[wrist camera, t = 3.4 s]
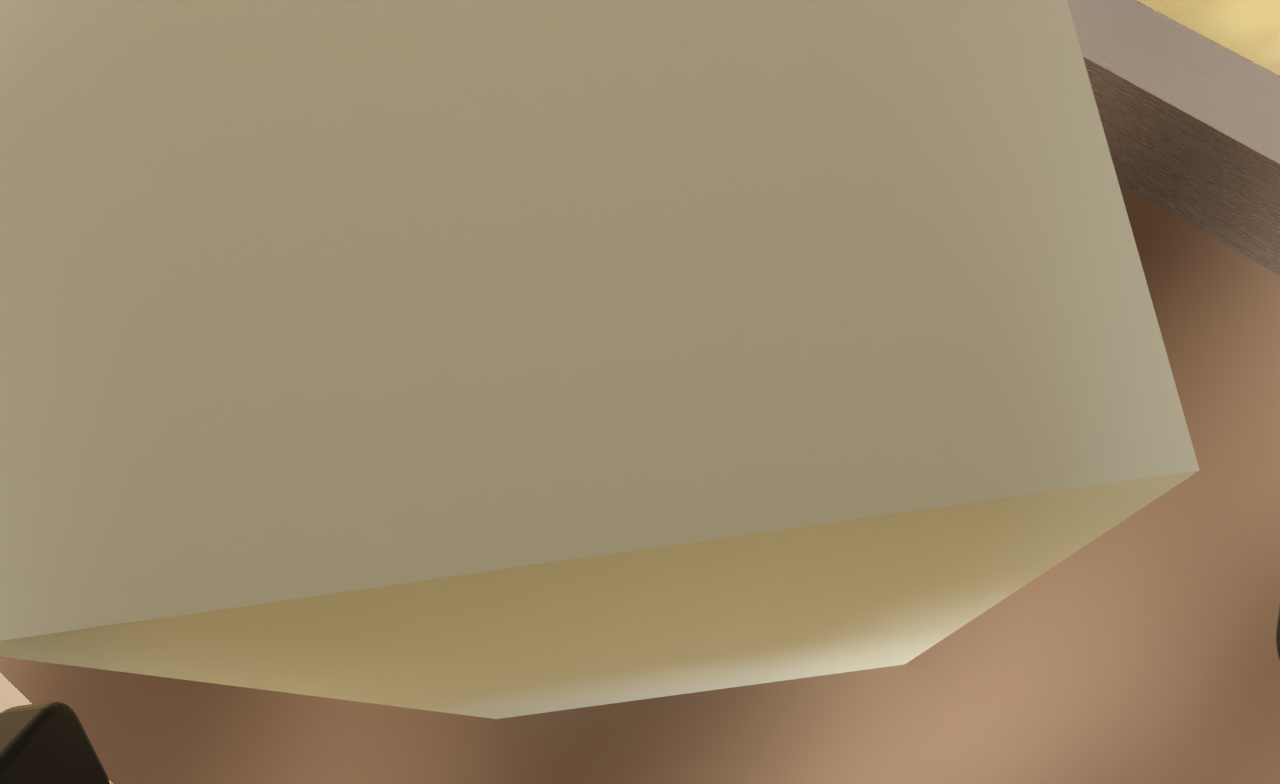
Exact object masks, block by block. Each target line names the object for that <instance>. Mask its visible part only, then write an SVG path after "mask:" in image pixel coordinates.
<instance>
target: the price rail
mask: <svg viewBox="0 0 1280 784" xmlns="http://www.w3.org/2000/svg"><path fill="white" fill-rule="evenodd" d="M1067 2H1068V5H1069V9H1070V13H1071V16H1072V20H1073V23H1074V27H1075V30H1076V34H1077V37H1078V41H1079V44H1080V48H1081V52H1082V55H1083V59H1084V62H1085V66H1086V69H1087V73H1088V76H1089V80H1090V83H1091V87H1092V90H1093V94H1094V98H1095V101H1096V105H1097V108H1098V112H1099V115H1100V119H1101V122H1102V126H1103V129H1104V133H1105V137H1106V140H1107V144H1108V147H1109V151H1110V154H1111V158H1112V161H1113V165H1114V168H1115V172H1116V176H1117V179H1118V183H1119V184H1121V185H1123V186H1124V187H1126V188H1128V189H1130V190H1131V191H1133V192H1135V193H1137V194H1138V195H1140V196H1142V197H1144V198H1145V199H1147V200H1149V201H1151V202H1152V203H1154V204H1156V205H1158V206H1159V207H1161V208H1163V209H1164V210H1166V211H1168V212H1170V213H1171V214H1173V215H1175V216H1177V217H1178V218H1180V219H1182V220H1184V221H1185V222H1187V223H1189V224H1191V225H1192V226H1194V227H1196V228H1198V229H1199V230H1201V231H1203V232H1204V233H1206V234H1208V235H1210V236H1211V237H1213V238H1215V239H1217V240H1218V241H1220V242H1222V243H1224V244H1225V245H1227V246H1229V247H1231V248H1232V249H1234V250H1236V251H1238V252H1239V253H1241V254H1243V255H1244V256H1246V257H1248V258H1250V259H1251V260H1253V261H1255V262H1257V263H1258V264H1260V265H1262V266H1264V267H1265V268H1267V269H1269V270H1271V271H1272V272H1274V273H1276V274H1277V275H1279V276H1280V76H1278V75H1276V74H1274V73H1272V72H1271V71H1269V70H1267V69H1265V68H1263V67H1261V66H1259V65H1257V64H1255V63H1253V62H1252V61H1250V60H1248V59H1246V58H1244V57H1242V56H1240V55H1238V54H1236V53H1234V52H1233V51H1231V50H1229V49H1227V48H1225V47H1223V46H1221V45H1219V44H1217V43H1215V42H1214V41H1212V40H1210V39H1208V38H1206V37H1204V36H1202V35H1200V34H1198V33H1196V32H1195V31H1193V30H1191V29H1189V28H1187V27H1185V26H1183V25H1181V24H1179V23H1177V22H1176V21H1174V20H1172V19H1170V18H1168V17H1166V16H1164V15H1162V14H1160V13H1158V12H1156V11H1155V10H1153V9H1151V8H1149V7H1147V6H1145V5H1143V4H1141V3H1139V2H1137V1H1136V0H1067Z"/></svg>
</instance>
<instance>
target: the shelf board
mask: <svg viewBox="0 0 1280 784" xmlns="http://www.w3.org/2000/svg"><path fill="white" fill-rule="evenodd" d="M1119 186H1120V190H1121V193H1122V197H1123V200H1124V204H1125V207H1126V211H1127V214H1128V218H1129V222H1130V225H1131V229H1132V232H1133V236H1134V239H1135V243H1136V246H1137V250H1138V253H1139V257H1140V261H1141V264H1142V268H1143V271H1144V275H1145V278H1146V282H1147V285H1148V289H1149V292H1150V296H1151V300H1152V303H1153V307H1154V310H1155V314H1156V317H1157V321H1158V324H1159V328H1160V331H1161V335H1162V339H1163V342H1164V346H1165V349H1166V353H1167V356H1168V360H1169V363H1170V367H1171V370H1172V374H1173V377H1174V381H1175V385H1176V388H1177V392H1178V395H1179V399H1180V402H1181V406H1182V409H1183V413H1184V416H1185V420H1186V424H1187V427H1188V431H1189V434H1190V438H1191V441H1192V445H1193V448H1194V452H1195V455H1196V459H1197V463H1198V466H1199V470H1200V471H1198V472H1197V473H1195V474H1193V475H1192V476H1190V477H1189V478H1187V479H1186V480H1184V481H1183V482H1181V483H1180V484H1178V485H1177V486H1175V487H1174V488H1172V489H1171V490H1169V491H1168V492H1166V493H1165V494H1163V495H1162V496H1160V497H1159V498H1157V499H1155V500H1154V501H1152V502H1151V503H1149V504H1148V505H1146V506H1145V507H1143V508H1142V509H1140V510H1139V511H1137V512H1136V513H1134V514H1133V515H1131V516H1130V517H1128V518H1127V519H1125V520H1124V521H1122V522H1121V523H1119V524H1117V525H1116V526H1114V527H1113V528H1111V529H1110V530H1108V531H1107V532H1105V533H1104V534H1102V535H1101V536H1099V537H1098V538H1096V539H1095V540H1093V541H1092V542H1090V543H1089V544H1087V545H1086V546H1084V547H1083V548H1081V549H1079V550H1078V551H1076V552H1075V553H1073V554H1072V555H1070V556H1069V557H1067V558H1066V559H1064V560H1063V561H1061V562H1060V563H1058V564H1057V565H1055V566H1054V567H1052V568H1051V569H1049V570H1048V571H1046V572H1045V573H1043V574H1041V575H1040V576H1038V577H1037V578H1035V579H1034V580H1032V581H1031V582H1029V583H1028V584H1026V585H1025V586H1023V587H1022V588H1020V589H1019V590H1017V591H1016V592H1014V593H1013V594H1011V595H1010V596H1008V597H1007V598H1005V599H1003V600H1002V601H1000V602H999V603H997V604H996V605H994V606H993V607H991V608H990V609H988V610H987V611H985V612H984V613H982V614H981V615H979V616H978V617H976V618H975V619H973V620H972V621H970V622H969V623H967V624H965V625H964V626H962V627H961V628H959V629H958V630H956V631H955V632H953V633H952V634H950V635H949V636H947V637H946V638H944V639H943V640H941V641H940V642H938V643H937V644H935V645H934V646H932V647H931V648H929V649H927V650H926V651H924V652H923V653H921V654H920V655H918V656H917V657H915V658H914V659H912V660H911V661H909V662H908V663H906V664H905V665H897V666H890V667H882V668H875V669H867V670H860V671H852V672H845V673H837V674H830V675H822V676H815V677H808V678H800V679H793V680H785V681H778V682H770V683H763V684H755V685H748V686H740V687H733V688H725V689H718V690H710V691H703V692H695V693H688V694H680V695H673V696H665V697H658V698H650V699H643V700H635V701H628V702H621V703H613V704H606V705H598V706H591V707H583V708H576V709H568V710H561V711H553V712H546V713H538V714H531V715H523V716H516V717H508V718H501V719H491V718H484V717H476V716H468V715H460V714H452V713H444V712H436V711H428V710H420V709H412V708H404V707H396V706H388V705H380V704H372V703H364V702H357V701H349V700H341V699H333V698H325V697H317V696H309V695H301V694H293V693H285V692H277V691H269V690H261V689H253V688H245V687H237V686H230V685H222V684H214V683H206V682H198V681H190V680H182V679H174V678H166V677H158V676H150V675H142V674H134V673H126V672H118V671H110V670H103V669H95V668H87V667H79V666H71V665H63V664H55V663H47V662H39V661H31V660H23V659H15V658H7V657H0V672H1V673H2V674H3V675H4V676H5V677H6V678H7V679H8V680H9V681H10V682H11V683H12V684H13V685H14V686H15V687H16V688H17V689H18V690H19V691H20V692H21V693H22V694H23V695H24V696H25V697H26V698H27V699H28V700H29V701H30V702H31V703H32V704H39V703H47V702H61V703H65V704H67V705H68V706H69V707H70V708H72V709H73V710H74V712H75V713H76V715H77V716H78V718H79V720H80V722H81V724H82V726H83V728H84V730H85V732H86V734H87V736H88V738H89V740H90V742H91V744H92V746H93V748H94V750H95V752H96V754H97V756H98V758H99V760H100V762H101V764H102V766H103V768H104V770H105V772H106V774H107V776H108V778H109V779H110V780H111V781H112V782H113V783H114V784H1280V661H1279V658H1278V653H1277V647H1276V629H1277V621H1278V613H1279V605H1280V276H1279V275H1277V274H1276V273H1274V272H1272V271H1271V270H1269V269H1267V268H1265V267H1264V266H1262V265H1260V264H1258V263H1257V262H1255V261H1253V260H1251V259H1250V258H1248V257H1246V256H1244V255H1243V254H1241V253H1239V252H1238V251H1236V250H1234V249H1232V248H1231V247H1229V246H1227V245H1225V244H1224V243H1222V242H1220V241H1218V240H1217V239H1215V238H1213V237H1211V236H1210V235H1208V234H1206V233H1204V232H1203V231H1201V230H1199V229H1198V228H1196V227H1194V226H1192V225H1191V224H1189V223H1187V222H1185V221H1184V220H1182V219H1180V218H1178V217H1177V216H1175V215H1173V214H1171V213H1170V212H1168V211H1166V210H1164V209H1163V208H1161V207H1159V206H1158V205H1156V204H1154V203H1152V202H1151V201H1149V200H1147V199H1145V198H1144V197H1142V196H1140V195H1138V194H1137V193H1135V192H1133V191H1131V190H1130V189H1128V188H1126V187H1124V186H1123V185H1121V184H1119Z"/></svg>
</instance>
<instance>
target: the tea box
mask: <svg viewBox="0 0 1280 784" xmlns="http://www.w3.org/2000/svg"><path fill="white" fill-rule="evenodd" d="M1198 471H1200V470H1199V466H1198V463H1197V459H1196V455H1195V452H1194V448H1193V445H1192V441H1191V438H1190V434H1189V431H1188V427H1187V424H1186V420H1185V416H1184V413H1183V409H1182V406H1181V402H1180V399H1179V395H1178V392H1177V388H1176V385H1175V381H1174V377H1173V374H1172V370H1171V367H1170V363H1169V360H1168V356H1167V353H1166V349H1165V346H1164V342H1163V339H1162V335H1161V331H1160V328H1159V324H1158V321H1157V317H1156V314H1155V310H1154V307H1153V303H1152V300H1151V296H1150V292H1149V289H1148V285H1147V282H1146V278H1145V275H1144V271H1143V268H1142V264H1141V261H1140V257H1139V253H1138V250H1137V246H1136V243H1135V239H1134V236H1133V232H1132V229H1131V225H1130V222H1129V218H1128V214H1127V211H1126V207H1125V204H1124V200H1123V197H1122V193H1121V190H1120V186H1119V183H1118V179H1117V176H1116V172H1115V168H1114V165H1113V161H1112V158H1111V154H1110V151H1109V147H1108V144H1107V140H1106V137H1105V133H1104V129H1103V126H1102V122H1101V119H1100V115H1099V112H1098V108H1097V105H1096V101H1095V98H1094V94H1093V90H1092V87H1091V83H1090V80H1089V76H1088V73H1087V69H1086V66H1085V62H1084V59H1083V55H1082V52H1081V48H1080V44H1079V41H1078V37H1077V34H1076V30H1075V27H1074V23H1073V20H1072V16H1071V13H1070V9H1069V5H1068V2H1067V0H0V657H7V658H15V659H23V660H31V661H39V662H47V663H55V664H63V665H71V666H79V667H87V668H95V669H103V670H110V671H118V672H126V673H134V674H142V675H150V676H158V677H166V678H174V679H182V680H190V681H198V682H206V683H214V684H222V685H230V686H237V687H245V688H253V689H261V690H269V691H277V692H285V693H293V694H301V695H309V696H317V697H325V698H333V699H341V700H349V701H357V702H364V703H372V704H380V705H388V706H396V707H404V708H412V709H420V710H428V711H436V712H444V713H452V714H460V715H468V716H476V717H484V718H491V719H501V718H508V717H516V716H523V715H531V714H538V713H546V712H553V711H561V710H568V709H576V708H583V707H591V706H598V705H606V704H613V703H621V702H628V701H635V700H643V699H650V698H658V697H665V696H673V695H680V694H688V693H695V692H703V691H710V690H718V689H725V688H733V687H740V686H748V685H755V684H763V683H770V682H778V681H785V680H793V679H800V678H808V677H815V676H822V675H830V674H837V673H845V672H852V671H860V670H867V669H875V668H882V667H890V666H897V665H905V664H906V663H908V662H909V661H911V660H912V659H914V658H915V657H917V656H918V655H920V654H921V653H923V652H924V651H926V650H927V649H929V648H931V647H932V646H934V645H935V644H937V643H938V642H940V641H941V640H943V639H944V638H946V637H947V636H949V635H950V634H952V633H953V632H955V631H956V630H958V629H959V628H961V627H962V626H964V625H965V624H967V623H969V622H970V621H972V620H973V619H975V618H976V617H978V616H979V615H981V614H982V613H984V612H985V611H987V610H988V609H990V608H991V607H993V606H994V605H996V604H997V603H999V602H1000V601H1002V600H1003V599H1005V598H1007V597H1008V596H1010V595H1011V594H1013V593H1014V592H1016V591H1017V590H1019V589H1020V588H1022V587H1023V586H1025V585H1026V584H1028V583H1029V582H1031V581H1032V580H1034V579H1035V578H1037V577H1038V576H1040V575H1041V574H1043V573H1045V572H1046V571H1048V570H1049V569H1051V568H1052V567H1054V566H1055V565H1057V564H1058V563H1060V562H1061V561H1063V560H1064V559H1066V558H1067V557H1069V556H1070V555H1072V554H1073V553H1075V552H1076V551H1078V550H1079V549H1081V548H1083V547H1084V546H1086V545H1087V544H1089V543H1090V542H1092V541H1093V540H1095V539H1096V538H1098V537H1099V536H1101V535H1102V534H1104V533H1105V532H1107V531H1108V530H1110V529H1111V528H1113V527H1114V526H1116V525H1117V524H1119V523H1121V522H1122V521H1124V520H1125V519H1127V518H1128V517H1130V516H1131V515H1133V514H1134V513H1136V512H1137V511H1139V510H1140V509H1142V508H1143V507H1145V506H1146V505H1148V504H1149V503H1151V502H1152V501H1154V500H1155V499H1157V498H1159V497H1160V496H1162V495H1163V494H1165V493H1166V492H1168V491H1169V490H1171V489H1172V488H1174V487H1175V486H1177V485H1178V484H1180V483H1181V482H1183V481H1184V480H1186V479H1187V478H1189V477H1190V476H1192V475H1193V474H1195V473H1197V472H1198Z"/></svg>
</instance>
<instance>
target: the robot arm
mask: <svg viewBox="0 0 1280 784" xmlns="http://www.w3.org/2000/svg"><path fill="white" fill-rule="evenodd" d="M1276 647H1277V653H1278V658H1279V661H1280V605H1279V613H1278V621H1277V629H1276ZM0 784H110V783H109V779H108V776H107V774H106V772H105V770H104V768H103V766H102V764H101V762H100V760H99V758H98V756H97V754H96V752H95V750H94V748H93V746H92V744H91V742H90V740H89V738H88V736H87V734H86V732H85V730H84V728H83V726H82V724H81V722H80V720H79V718H78V716H77V715H76V713H75V712H74V710H73V709H72V708H70V707H69V706H68V705H67V704H65V703H61V702H47V703H39V704H31V705H23V706H17V707H12V708H10V709H7V710H5V711H3V712H2V713H0Z"/></svg>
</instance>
